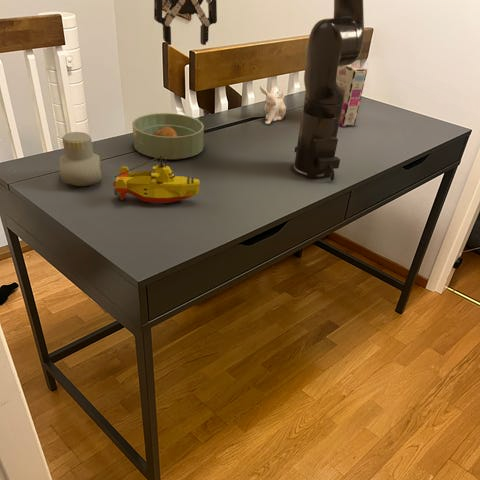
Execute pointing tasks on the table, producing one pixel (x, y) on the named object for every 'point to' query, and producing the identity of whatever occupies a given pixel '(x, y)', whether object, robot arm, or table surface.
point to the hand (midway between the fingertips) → (186, 44)
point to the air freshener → (79, 160)
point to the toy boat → (155, 184)
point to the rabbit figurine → (274, 105)
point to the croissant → (166, 132)
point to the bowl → (168, 147)
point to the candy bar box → (351, 91)
